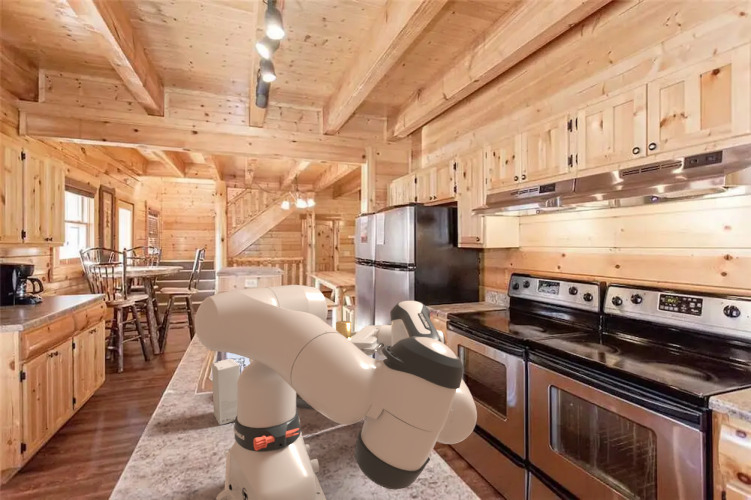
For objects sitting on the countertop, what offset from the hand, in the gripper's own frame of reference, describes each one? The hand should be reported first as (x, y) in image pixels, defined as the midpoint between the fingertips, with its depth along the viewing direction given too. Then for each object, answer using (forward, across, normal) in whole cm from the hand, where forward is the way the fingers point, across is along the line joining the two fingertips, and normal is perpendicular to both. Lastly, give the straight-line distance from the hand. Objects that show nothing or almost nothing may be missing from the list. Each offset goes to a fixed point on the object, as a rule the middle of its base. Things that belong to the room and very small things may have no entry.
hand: (340, 337), depth 110 cm
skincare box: (+28, -15, -20) cm, 37 cm away
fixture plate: (+5, -1, -20) cm, 21 cm away
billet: (-1, 0, -7) cm, 7 cm away
